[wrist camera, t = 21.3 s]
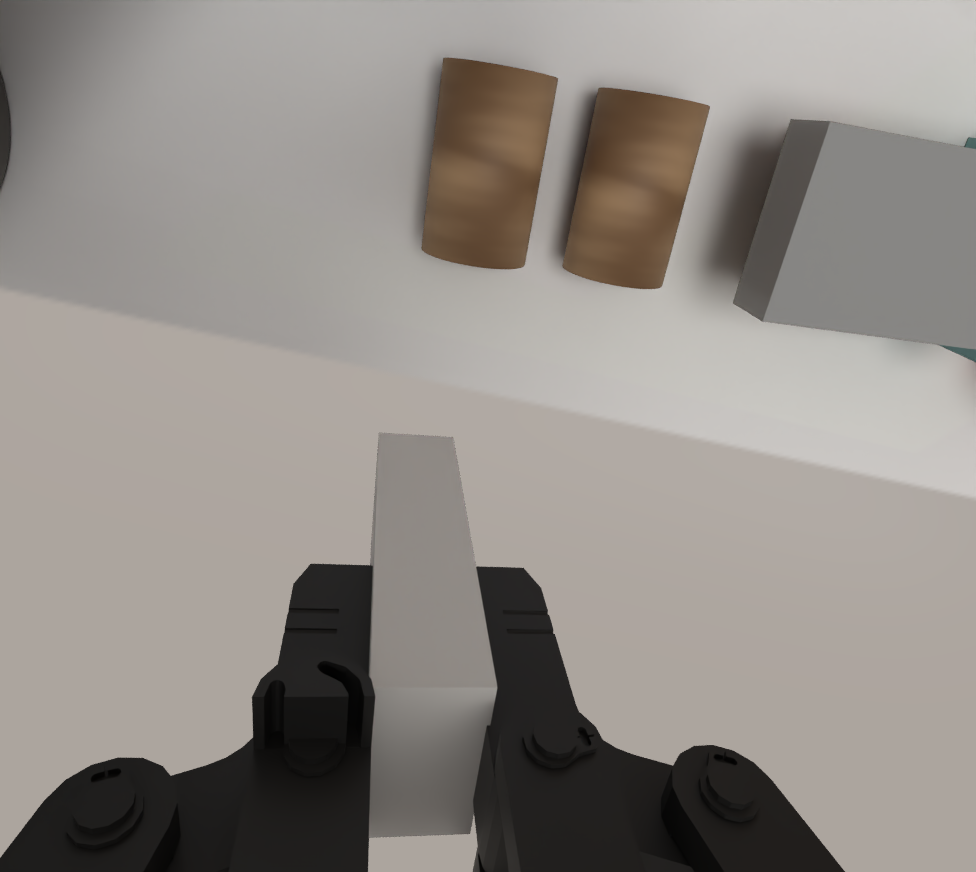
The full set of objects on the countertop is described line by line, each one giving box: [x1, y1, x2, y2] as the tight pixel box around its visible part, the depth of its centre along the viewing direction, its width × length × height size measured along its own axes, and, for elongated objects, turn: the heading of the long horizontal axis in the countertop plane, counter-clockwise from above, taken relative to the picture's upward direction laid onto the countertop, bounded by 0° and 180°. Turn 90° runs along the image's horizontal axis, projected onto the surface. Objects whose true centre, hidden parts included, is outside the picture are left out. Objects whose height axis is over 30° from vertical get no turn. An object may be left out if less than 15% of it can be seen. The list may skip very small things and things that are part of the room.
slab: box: [733, 119, 976, 350], centre depth 30 cm, size 12×8×3 cm, turn 81°
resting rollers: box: [422, 58, 710, 289], centre depth 32 cm, size 12×8×5 cm, turn 81°
